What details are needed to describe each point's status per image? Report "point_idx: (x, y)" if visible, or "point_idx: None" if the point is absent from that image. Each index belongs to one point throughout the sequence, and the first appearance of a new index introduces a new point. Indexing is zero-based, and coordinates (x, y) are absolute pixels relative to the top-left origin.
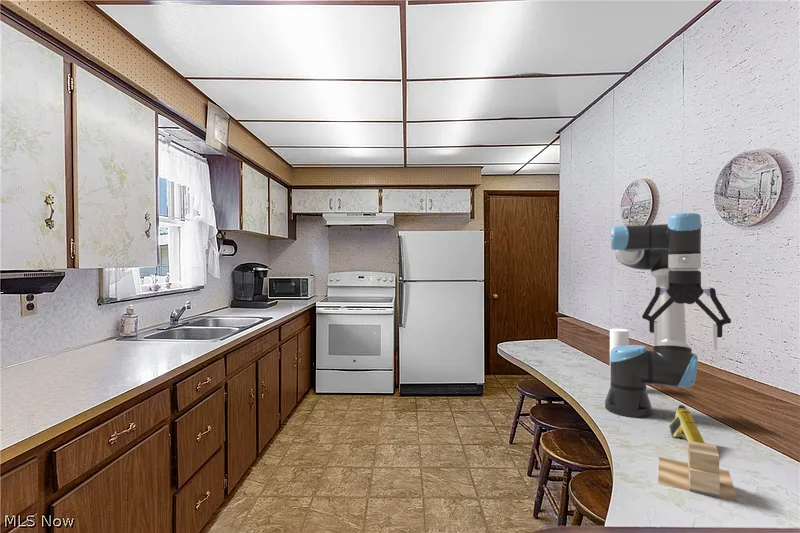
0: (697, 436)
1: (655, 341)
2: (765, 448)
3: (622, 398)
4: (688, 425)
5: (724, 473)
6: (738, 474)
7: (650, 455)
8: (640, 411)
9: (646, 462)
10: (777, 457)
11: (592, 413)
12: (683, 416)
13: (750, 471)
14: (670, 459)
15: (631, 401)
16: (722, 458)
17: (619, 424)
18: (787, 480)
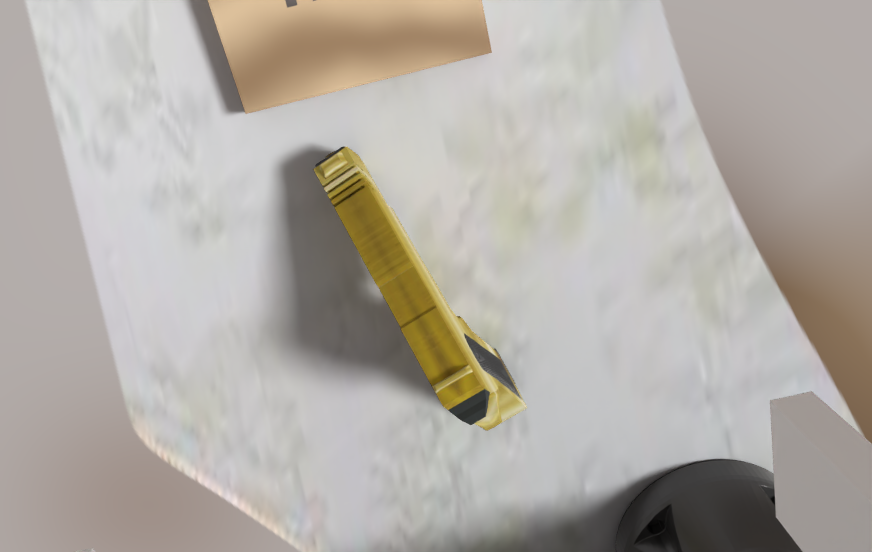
0: (377, 248)
1: (829, 429)
2: (222, 476)
3: (753, 522)
4: (421, 295)
5: (250, 72)
6: (231, 163)
7: (532, 105)
8: (656, 504)
9: (530, 12)
10: (174, 420)
11: (833, 404)
12: (451, 337)
13: (208, 225)
14: (447, 61)
15: (710, 523)
16: (309, 279)
17: (707, 357)
18: (100, 233)
